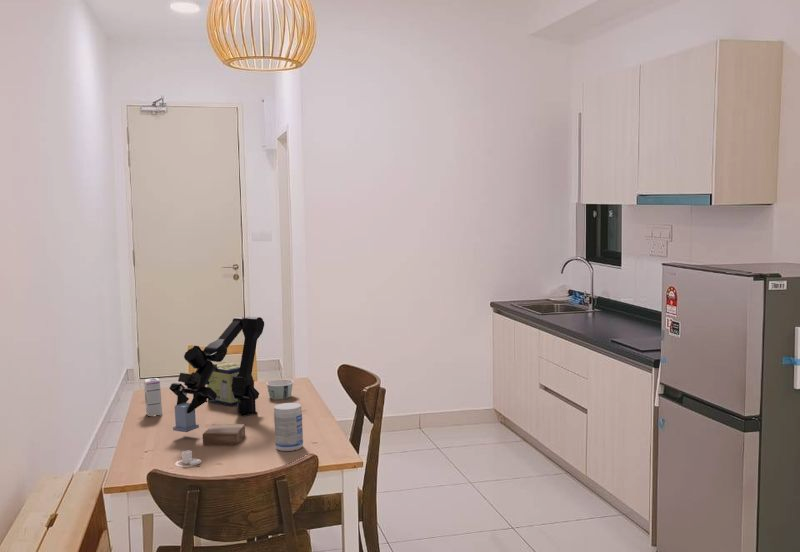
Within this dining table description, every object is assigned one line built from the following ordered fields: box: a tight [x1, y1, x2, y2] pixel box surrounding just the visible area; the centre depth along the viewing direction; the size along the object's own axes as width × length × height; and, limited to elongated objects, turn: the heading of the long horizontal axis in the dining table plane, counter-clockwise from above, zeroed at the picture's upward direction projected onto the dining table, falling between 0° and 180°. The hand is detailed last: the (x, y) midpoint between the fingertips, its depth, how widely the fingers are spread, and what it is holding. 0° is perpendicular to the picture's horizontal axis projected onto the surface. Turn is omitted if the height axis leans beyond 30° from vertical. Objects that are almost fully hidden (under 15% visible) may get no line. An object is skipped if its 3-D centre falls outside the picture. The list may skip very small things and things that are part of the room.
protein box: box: [206, 361, 240, 407], centre depth 324 cm, size 10×16×16 cm
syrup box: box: [143, 377, 163, 417], centre depth 305 cm, size 6×6×14 cm
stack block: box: [202, 423, 246, 446], centre depth 270 cm, size 12×12×4 cm
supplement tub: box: [273, 402, 304, 452], centre depth 260 cm, size 10×10×15 cm
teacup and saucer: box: [174, 449, 202, 468], centre depth 247 cm, size 9×8×4 cm
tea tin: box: [172, 402, 200, 433], centre depth 274 cm, size 6×6×9 cm
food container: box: [265, 378, 294, 400], centre depth 330 cm, size 12×12×6 cm
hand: (182, 412), depth 273 cm, fingers closed on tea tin, 5 cm apart
